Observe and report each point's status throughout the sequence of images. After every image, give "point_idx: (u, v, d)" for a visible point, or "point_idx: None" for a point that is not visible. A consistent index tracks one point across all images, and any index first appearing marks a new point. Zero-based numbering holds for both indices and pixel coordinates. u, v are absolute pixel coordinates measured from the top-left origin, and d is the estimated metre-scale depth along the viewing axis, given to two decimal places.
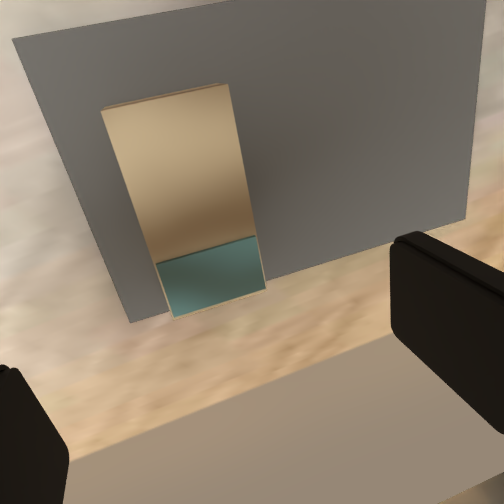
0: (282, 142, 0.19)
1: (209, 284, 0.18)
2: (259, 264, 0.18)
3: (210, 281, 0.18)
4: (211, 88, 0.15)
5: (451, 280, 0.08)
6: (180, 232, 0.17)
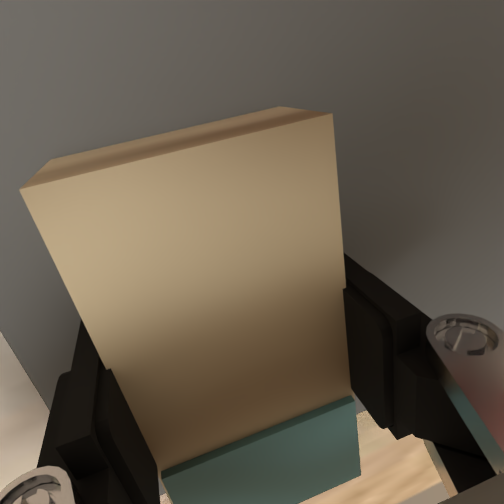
0: (387, 209, 0.10)
1: (262, 488, 0.09)
2: (355, 442, 0.10)
3: (265, 484, 0.09)
4: (295, 124, 0.06)
5: None
6: (212, 412, 0.08)
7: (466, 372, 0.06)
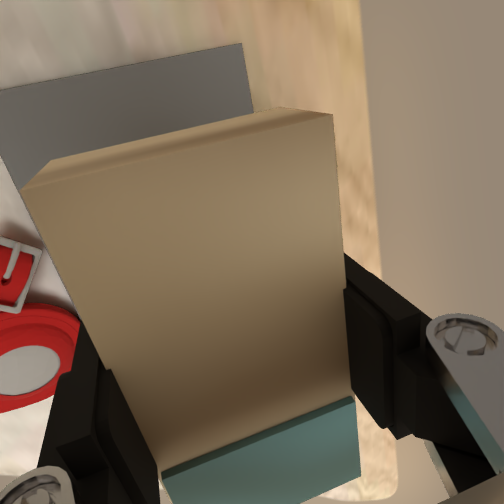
0: None
1: (263, 489, 0.09)
2: (355, 443, 0.10)
3: (266, 484, 0.09)
4: (295, 125, 0.06)
5: None
6: (212, 413, 0.08)
7: (466, 372, 0.06)
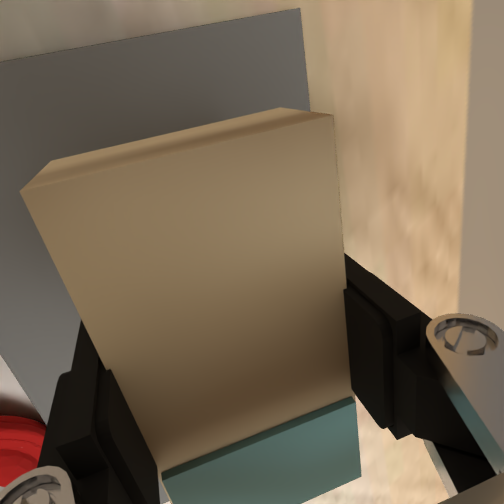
0: None
1: (263, 490, 0.09)
2: (355, 443, 0.10)
3: (266, 485, 0.09)
4: (295, 126, 0.06)
5: None
6: (213, 414, 0.08)
7: (466, 372, 0.06)
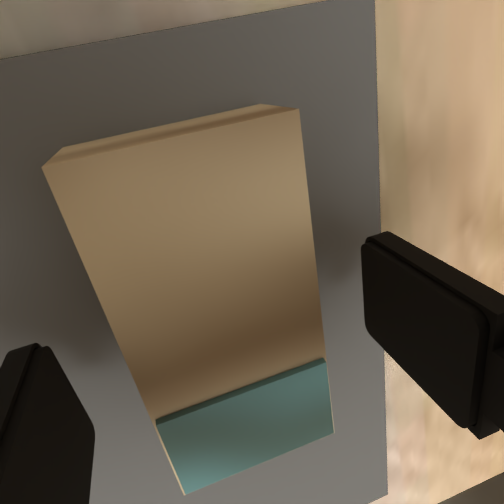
0: None
1: (245, 440, 0.11)
2: (327, 401, 0.11)
3: (247, 436, 0.11)
4: (267, 117, 0.07)
5: (413, 279, 0.08)
6: (200, 368, 0.09)
7: None
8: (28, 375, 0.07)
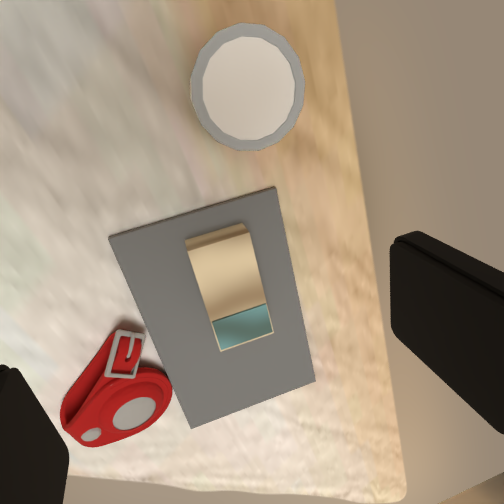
0: None
1: (240, 331, 0.32)
2: (268, 319, 0.32)
3: (241, 329, 0.32)
4: (241, 235, 0.29)
5: (451, 280, 0.08)
6: (225, 304, 0.31)
7: None
8: None
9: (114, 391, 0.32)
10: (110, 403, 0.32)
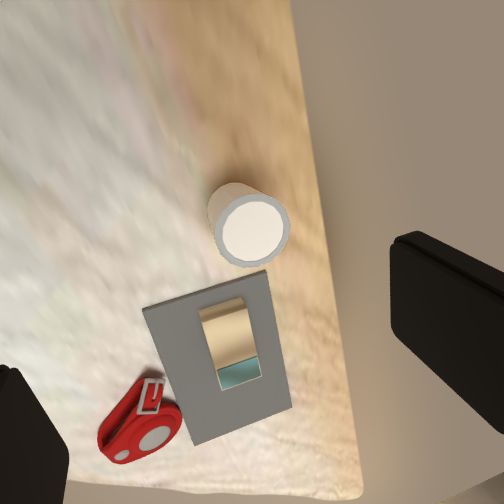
0: None
1: (237, 376, 0.43)
2: (258, 366, 0.43)
3: (238, 375, 0.43)
4: (240, 310, 0.40)
5: (451, 280, 0.08)
6: (226, 357, 0.42)
7: None
8: None
9: (141, 423, 0.42)
10: (138, 432, 0.42)
